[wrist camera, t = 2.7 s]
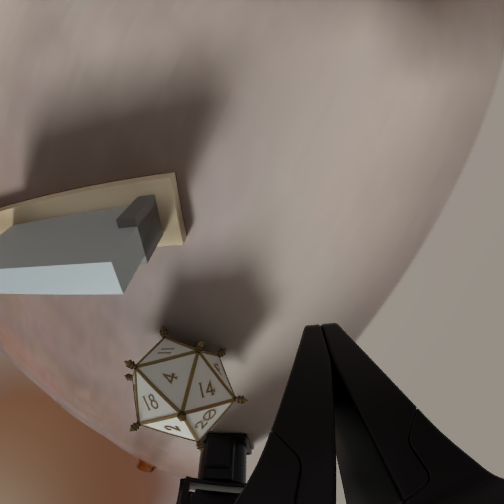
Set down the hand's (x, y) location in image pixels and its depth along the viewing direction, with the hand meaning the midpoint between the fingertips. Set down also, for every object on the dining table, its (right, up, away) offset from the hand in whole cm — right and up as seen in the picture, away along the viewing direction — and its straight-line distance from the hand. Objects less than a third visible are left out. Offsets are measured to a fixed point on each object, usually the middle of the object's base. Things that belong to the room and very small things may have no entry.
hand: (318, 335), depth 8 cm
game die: (-7, -6, +15) cm, 18 cm away
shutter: (-13, +4, +9) cm, 16 cm away
